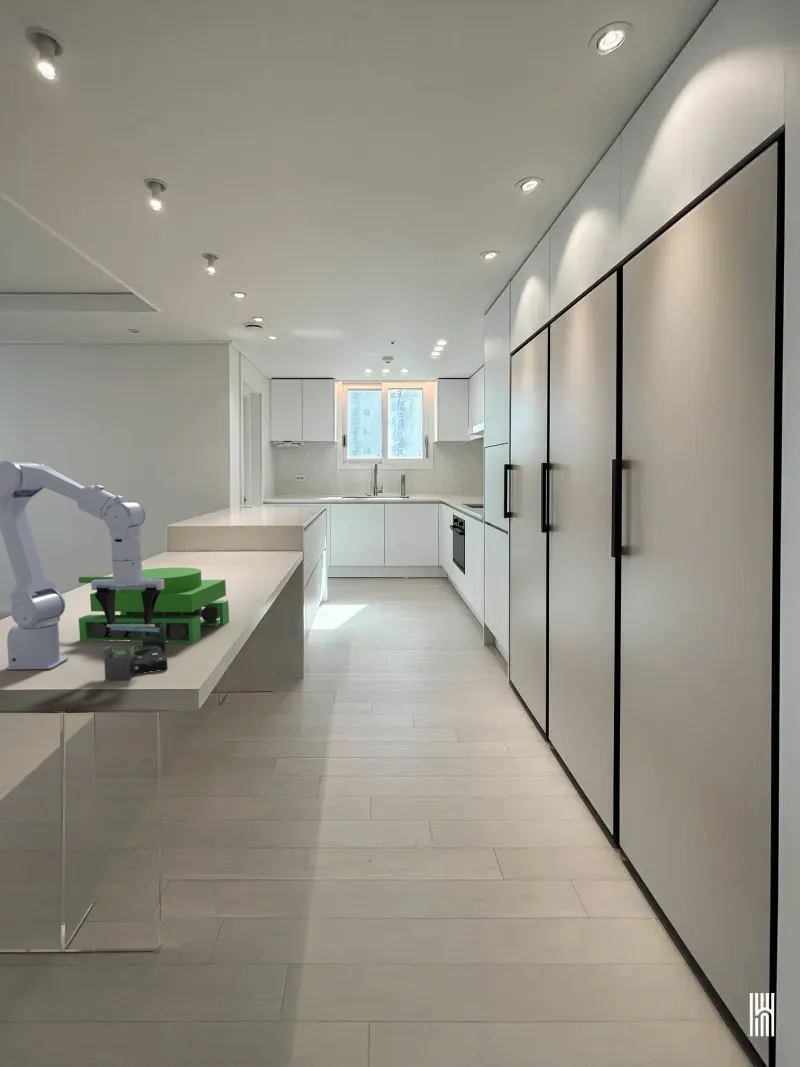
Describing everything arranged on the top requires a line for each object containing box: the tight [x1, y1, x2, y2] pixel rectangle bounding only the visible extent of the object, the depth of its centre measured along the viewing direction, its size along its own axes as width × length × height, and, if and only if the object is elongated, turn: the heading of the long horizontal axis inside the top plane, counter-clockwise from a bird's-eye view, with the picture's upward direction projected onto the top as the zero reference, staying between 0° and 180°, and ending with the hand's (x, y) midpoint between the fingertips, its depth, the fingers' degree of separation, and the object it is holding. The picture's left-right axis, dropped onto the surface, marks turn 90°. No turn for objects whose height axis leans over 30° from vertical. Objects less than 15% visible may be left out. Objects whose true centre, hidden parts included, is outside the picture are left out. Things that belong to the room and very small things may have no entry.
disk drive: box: [113, 644, 168, 675], centre depth 145 cm, size 10×3×15 cm
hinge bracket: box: [141, 623, 168, 653], centre depth 154 cm, size 5×2×7 cm, turn 91°
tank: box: [78, 567, 230, 644], centre depth 175 cm, size 24×35×16 cm
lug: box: [103, 645, 136, 681], centre depth 135 cm, size 5×2×6 cm, turn 91°
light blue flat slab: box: [107, 623, 161, 633], centre depth 145 cm, size 9×21×2 cm, turn 1°
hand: (129, 623), depth 140 cm, fingers open, 7 cm apart
